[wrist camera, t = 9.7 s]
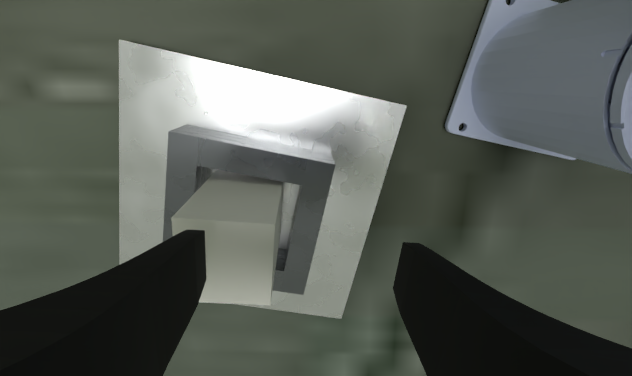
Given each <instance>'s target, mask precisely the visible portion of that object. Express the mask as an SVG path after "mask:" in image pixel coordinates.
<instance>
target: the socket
mask: <svg viewBox="0 0 632 376" xmlns="http://www.w3.org/2000/svg"><path fill="white" fill-rule="evenodd" d="M406 107H407V106H406V105H402V104H397V103H393V102H389V101H384V100H380V99H376V98H371V97H367V96H363V95H358V94H354V93H350V92H345V91H341V90H336V89H332V88H328V87H323V86H319V85H315V84H310V83H306V82H302V81H297V80H293V79H289V78H284V77H280V76H276V75H271V74H267V73H263V72H258V71H254V70H250V69H245V68H241V67H236V66H232V65H228V64H223V63H219V62H215V61H210V60H206V59H202V58H197V57H193V56H189V55H184V54H180V53H176V52H171V51H167V50H163V49H158V48H154V47H150V46H145V45H141V44H137V43H132V42H128V41H123V40H119V247H120V264H122V263H124V262H126V261H128V260H130V259H132V258H134V257H136V256H138V255H140V254H142V253H144V252H146V251H147V250H149V249H151V248H153V247H155V246H157V245H158V244H160V243H162V242H164V241H166V240H167V239H169V238H171V237H173V234H172V221H171V218H172V216H173V215H174V214H175V213H176V212H177V211H178V210H179V209H180V208H181V207H182V206H183V205H184V204H185V203H186V202H187V201H188V200H189V199H190V198H191V196H192V195H193V194H194V193H195V192H196V191H197V190H198V189H199V188H200V187H201V186H202V185H203V184H204V183H205V182H206V181H207V180H208V179H209V178H210V177H211V175H212V174H213V173H214V172H215V171H216V170H222V171H228V172H233V173H238V174H244V175H249V176H254V177H260V178H265V179H270V180H276V181H281V182H284V186H283V202H282V217H281V232H280V239H279V246H278V254H277V261H276V268H275V276H274V283H273V291H272V298H271V305H249V304H237V305H244V306H252V307H259V308H266V309H274V310H281V311H288V312H296V313H303V314H310V315H318V316H325V317H332V318H339V319H341V318H342V315H343V312H344V308H345V305H346V302H347V299H348V295H349V292H350V289H351V286H352V282H353V279H354V276H355V273H356V269H357V266H358V263H359V260H360V256H361V253H362V250H363V247H364V243H365V240H366V237H367V234H368V230H369V227H370V224H371V221H372V217H373V214H374V211H375V208H376V204H377V201H378V198H379V194H380V191H381V188H382V185H383V181H384V178H385V175H386V172H387V168H388V165H389V162H390V159H391V155H392V152H393V149H394V146H395V142H396V139H397V136H398V133H399V129H400V126H401V123H402V120H403V116H404V113H405V110H406Z"/></svg>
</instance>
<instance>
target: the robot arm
mask: <svg viewBox="0 0 632 376" xmlns="http://www.w3.org/2000/svg"><path fill="white" fill-rule="evenodd" d="M462 123H463V125H464V127H463V129H462V130H460V131H459V125H460V124H462ZM445 129H446V131H447V132H449V133H452V134H457V135H461V136H466V137H470V138H475V139H479V140H484V141H488V142H493V143H497V144H502V145H506V146H511V147H515V148H520V149H524V150H529V151H533V152H538V153H542V154H547V155H551V156H556V157H560V158H565V159H569V160H575V159H580V160H584V161H587V162H591V163H594V164H598V165H601V166H605V167H609V168H612V169H616V170H619V171H623V172H627V173H630V174H632V0H571V1H567V2H564V3H558V2H554V1H551V0H511V2H510V4H509V5H507V4H506V0H489V2H488V4H487V7H486V10H485V13H484V16H483V18H482V21H481V24H480V27H479V30H478V33H477V35H476V38H475V41H474V44H473V47H472V49H471V52H470V55H469V58H468V61H467V63H466V66H465V69H464V72H463V75H462V78H461V80H460V83H459V86H458V89H457V92H456V94H455V97H454V100H453V103H452V106H451V108H450V111H449V114H448V117H447V120H446V123H445ZM205 282H206V252H205V230H188V229H187V230H185V231H182V232H180V233H178V234H176V235H175V236H173V237H171V238H169V239H167V240H166V241H164V242H162V243H160V244H158V245H157V246H155V247H153V248H151V249H149V250H147V251H146V252H144V253H142V254H140V255H138V256H136V257H134V258H132V259H130V260H128V261H126V262H124V263H122V264H120V265H118V266H116V267H114V268H112V269H110V270H108V271H106V272H104V273H101V274H99V275H97V276H95V277H92V278H90V279H88V280H85V281H83V282H80V283H78V284H75V285H73V286H70V287H68V288H65V289H63V290H60V291H57V292H54V293H51V294H48V295H46V296H43V297H40V298H37V299H34V300H31V301H28V302H25V303H22V304H20V305H17V306H13V307H10V308H7V309H4V310H0V376H163V374H164V372H165V370H166V368H167V365H168V363H169V361H170V359H171V357H172V355H173V353H174V351H175V349H176V347H177V345H178V344H179V342H180V340H181V338H182V336H183V334H184V332H185V330H186V328H187V326H188V324H189V322H190V320H191V317H192V315H193V313H194V311H195V309H196V307H197V305H198V303H199V300H200V297H201V294H202V291H203V288H204V285H205ZM393 290H394V294H395V298H396V301H397V305H398V308H399V311H400V314H401V317H402V319H403V322H404V324H405V326H406V329H407V331H408V333H409V335H410V338H411V340H412V342H413V345H414V347H415V349H416V351H417V354H418V356H419V358H420V361H421V363H422V365H423V367H424V370H425V372H426V375H427V376H632V349H631V348H628V347H626V346H623V345H620V344H617V343H614V342H612V341H609V340H606V339H603V338H601V337H598V336H595V335H593V334H590V333H588V332H585V331H583V330H580V329H577V328H575V327H573V326H570V325H568V324H566V323H563V322H561V321H559V320H556V319H554V318H552V317H549V316H547V315H545V314H543V313H540V312H538V311H536V310H534V309H532V308H530V307H528V306H526V305H524V304H522V303H520V302H518V301H516V300H514V299H512V298H510V297H508V296H506V295H504V294H502V293H501V292H499V291H497V290H495V289H494V288H492V287H490V286H488V285H487V284H485V283H483V282H481V281H480V280H478V279H476V278H475V277H473V276H471V275H470V274H468V273H467V272H465V271H463V270H462V269H460V268H459V267H457V266H456V265H454V264H453V263H451V262H449V261H448V260H446V259H445V258H443V257H442V256H440V255H439V254H437V253H435V252H434V251H432V250H431V249H429V248H427V247H425V246H424V245H422V244H419V243H406V242H403V245H402V249H401V254H400V258H399V263H398V268H397V272H396V277H395V281H394V286H393Z"/></svg>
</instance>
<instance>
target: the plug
mask: <svg viewBox="0 0 632 376" xmlns="http://www.w3.org/2000/svg"><path fill="white" fill-rule="evenodd" d="M283 186H284V182H281V181H276V180H270V179H265V178H260V177H254V176H249V175H244V174H238V173H233V172H228V171H222V170H216V171H215V172H214V173H213V174H212V175H211V177H210V178H209V179H208V180H207V181H206V182H205V183H204V184H203V185H202V186H201V187H200V188H199V189H198V190H197V191H196V192H195V193H194V194H193V195H192V196H191V198H190V199H189V200H188V201H187V202H186V203H185V204H184V205H183V206H182V207H181V208H180V209H179V210H178V211H177V212H176V213H175V214H174V215H173V216H172V218H171V221H172V234H173V236H175V235H176V234H178V233H180V232H182V231H185V230H187V229H188V230H205V252H206V282H205V285H204V288H203V291H202V294H201V297H200V300H199V302H203V303H226V304H249V305H271V298H272V291H273V283H274V276H275V268H276V261H277V254H278V246H279V239H280V232H281V217H282V202H283Z"/></svg>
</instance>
